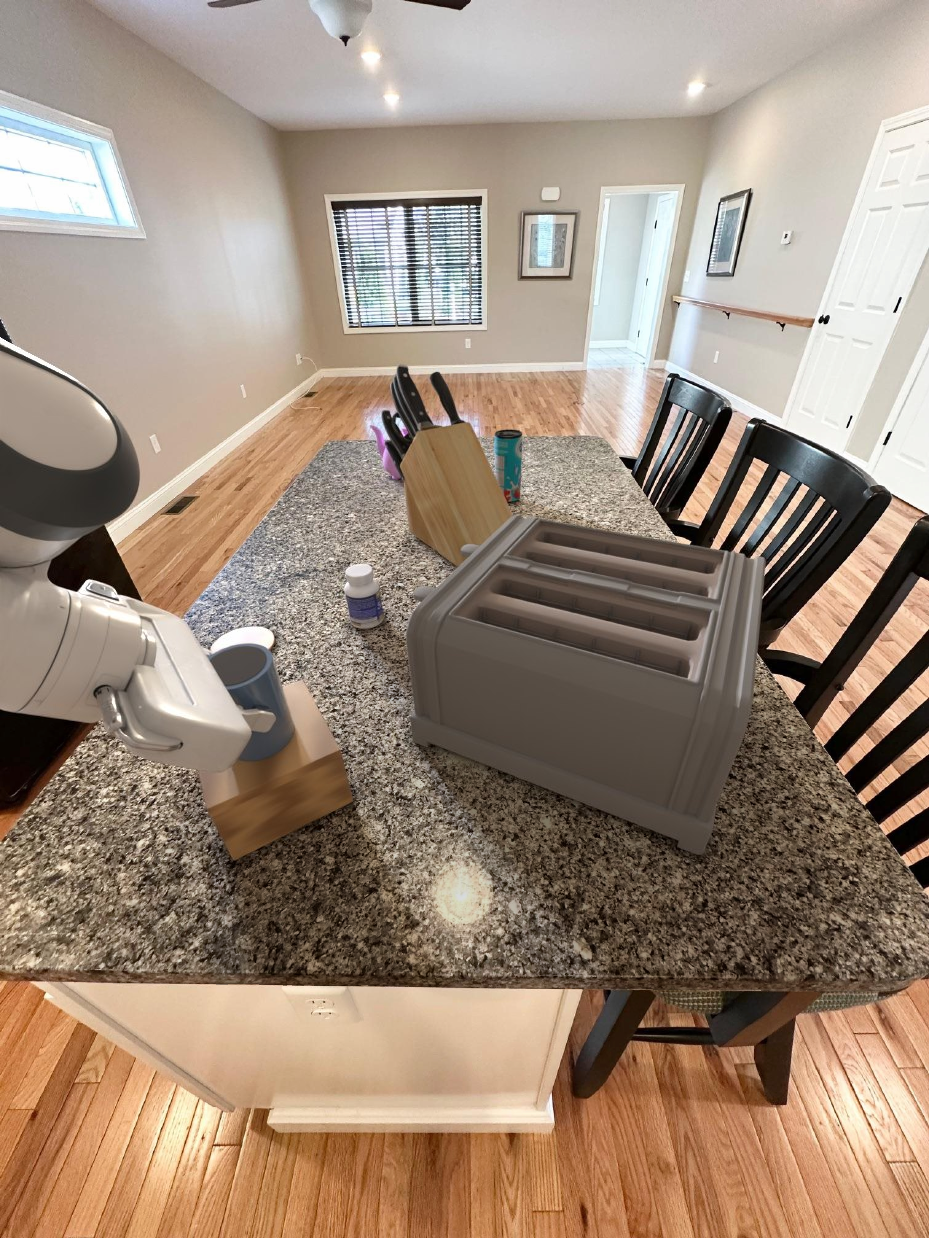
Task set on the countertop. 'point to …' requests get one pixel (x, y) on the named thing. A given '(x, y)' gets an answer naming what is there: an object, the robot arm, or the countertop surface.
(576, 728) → the toaster
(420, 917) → the countertop surface
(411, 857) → the countertop surface
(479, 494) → the knife block
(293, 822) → the wood block
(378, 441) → the teapot
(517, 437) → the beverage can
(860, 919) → the countertop surface
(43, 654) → the robot arm
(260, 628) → the coaster
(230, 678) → the cup
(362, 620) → the pill bottle
